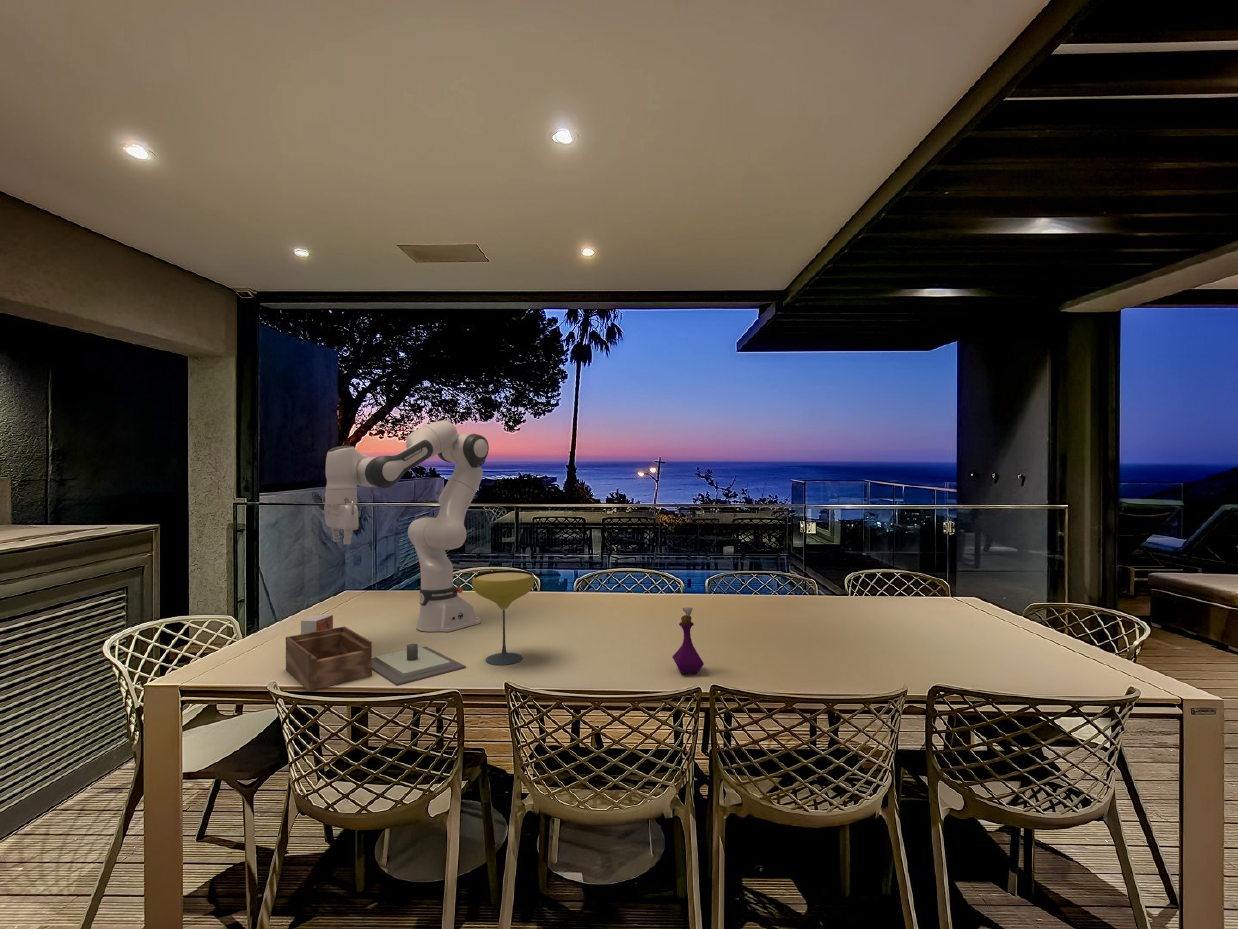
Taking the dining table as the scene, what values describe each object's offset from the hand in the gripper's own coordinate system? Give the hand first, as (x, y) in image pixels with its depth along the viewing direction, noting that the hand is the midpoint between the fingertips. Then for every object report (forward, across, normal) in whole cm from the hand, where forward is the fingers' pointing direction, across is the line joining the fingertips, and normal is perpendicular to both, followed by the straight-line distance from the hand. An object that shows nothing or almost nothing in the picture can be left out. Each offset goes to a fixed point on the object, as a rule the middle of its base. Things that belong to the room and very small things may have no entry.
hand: (341, 542), depth 186 cm
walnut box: (+34, -16, +9) cm, 39 cm away
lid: (+34, -26, -11) cm, 44 cm away
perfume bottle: (+34, -85, -64) cm, 112 cm away
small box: (+34, +8, +5) cm, 36 cm away
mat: (+34, -26, -11) cm, 44 cm away
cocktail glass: (+34, -40, -33) cm, 62 cm away
